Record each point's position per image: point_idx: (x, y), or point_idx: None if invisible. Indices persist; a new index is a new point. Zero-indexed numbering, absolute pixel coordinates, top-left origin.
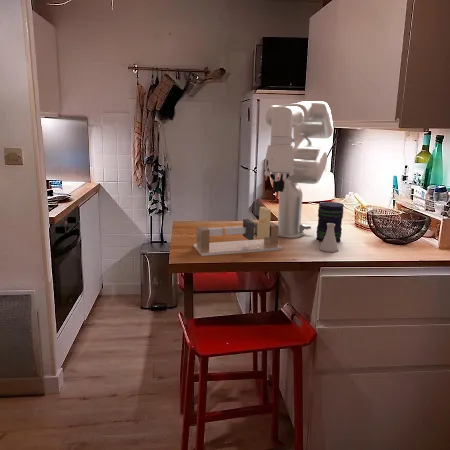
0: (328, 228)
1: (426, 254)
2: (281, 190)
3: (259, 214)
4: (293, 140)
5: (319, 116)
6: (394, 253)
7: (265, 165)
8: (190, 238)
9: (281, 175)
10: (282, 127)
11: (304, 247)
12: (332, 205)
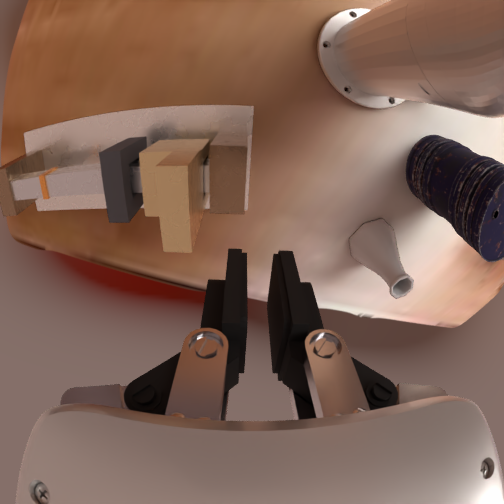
0: (388, 281)
1: (469, 304)
2: (268, 313)
3: (168, 156)
4: None
5: None
6: (446, 292)
7: (40, 485)
8: (35, 54)
9: (319, 395)
10: None
11: (327, 204)
12: (496, 238)
